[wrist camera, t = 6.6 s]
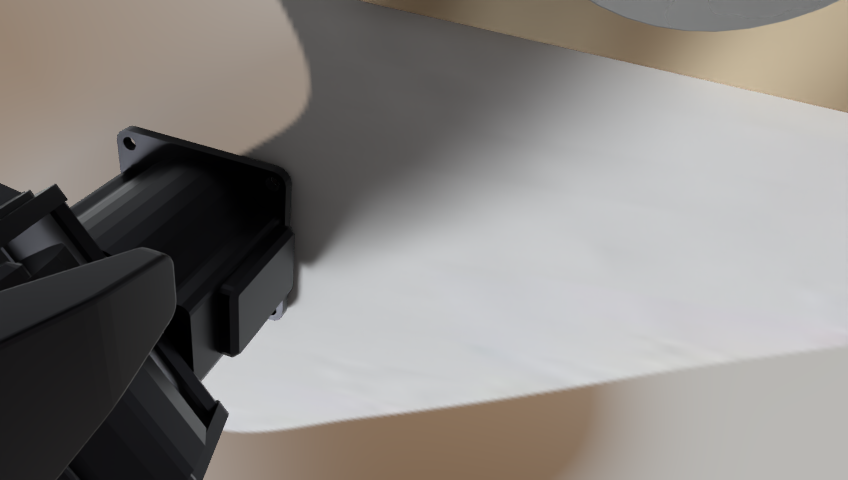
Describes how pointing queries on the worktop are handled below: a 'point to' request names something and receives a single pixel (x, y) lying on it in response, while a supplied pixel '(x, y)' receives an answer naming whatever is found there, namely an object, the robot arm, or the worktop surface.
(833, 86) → the oak board
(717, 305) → the worktop surface
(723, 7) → the pot lid
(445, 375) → the worktop surface
